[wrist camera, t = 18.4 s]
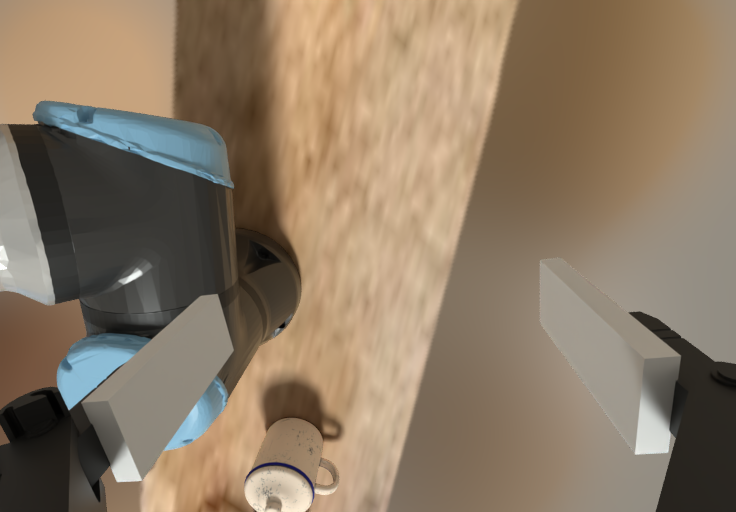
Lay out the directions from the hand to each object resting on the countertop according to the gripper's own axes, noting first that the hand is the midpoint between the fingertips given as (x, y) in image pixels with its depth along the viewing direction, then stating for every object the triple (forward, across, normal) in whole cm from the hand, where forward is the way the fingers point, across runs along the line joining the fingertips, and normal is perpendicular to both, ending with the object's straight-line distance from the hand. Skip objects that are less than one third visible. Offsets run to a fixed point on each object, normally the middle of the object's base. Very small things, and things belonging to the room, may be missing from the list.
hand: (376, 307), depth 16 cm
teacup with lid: (+31, -17, -36) cm, 50 cm away
